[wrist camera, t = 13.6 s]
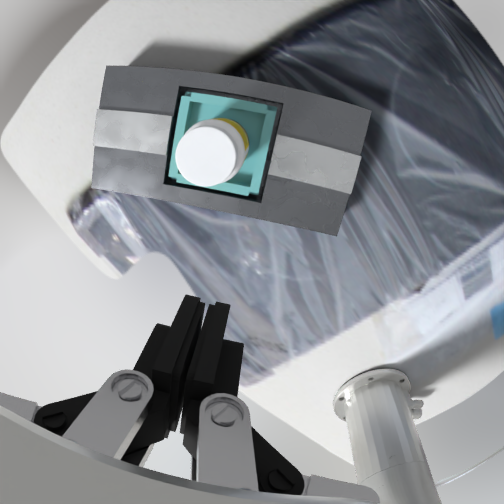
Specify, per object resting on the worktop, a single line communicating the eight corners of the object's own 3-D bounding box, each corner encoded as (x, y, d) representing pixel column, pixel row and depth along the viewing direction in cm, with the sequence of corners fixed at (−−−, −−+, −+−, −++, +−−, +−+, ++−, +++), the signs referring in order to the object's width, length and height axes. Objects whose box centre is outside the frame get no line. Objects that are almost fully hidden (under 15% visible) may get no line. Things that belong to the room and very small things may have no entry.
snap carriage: (276, 107, 27) (278, 106, 24) (258, 190, 31) (257, 198, 28) (190, 92, 27) (181, 90, 24) (176, 174, 30) (167, 181, 27)
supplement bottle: (200, 114, 26) (174, 114, 18) (254, 122, 26) (249, 125, 19) (193, 166, 28) (165, 186, 20) (244, 174, 28) (235, 198, 20)
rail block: (359, 110, 28) (373, 110, 24) (329, 222, 33) (337, 237, 29) (123, 69, 27) (104, 65, 23) (109, 179, 32) (89, 188, 28)
